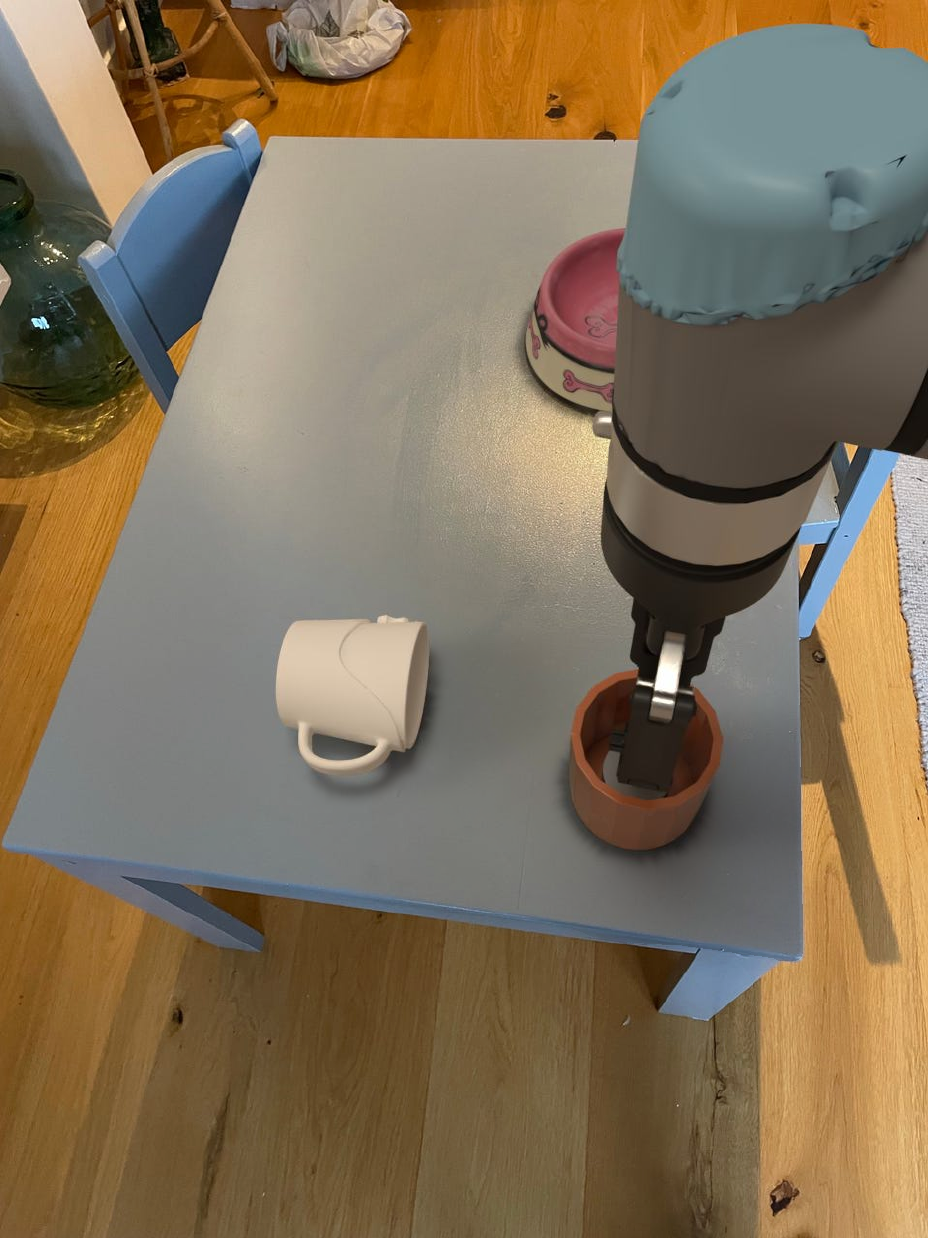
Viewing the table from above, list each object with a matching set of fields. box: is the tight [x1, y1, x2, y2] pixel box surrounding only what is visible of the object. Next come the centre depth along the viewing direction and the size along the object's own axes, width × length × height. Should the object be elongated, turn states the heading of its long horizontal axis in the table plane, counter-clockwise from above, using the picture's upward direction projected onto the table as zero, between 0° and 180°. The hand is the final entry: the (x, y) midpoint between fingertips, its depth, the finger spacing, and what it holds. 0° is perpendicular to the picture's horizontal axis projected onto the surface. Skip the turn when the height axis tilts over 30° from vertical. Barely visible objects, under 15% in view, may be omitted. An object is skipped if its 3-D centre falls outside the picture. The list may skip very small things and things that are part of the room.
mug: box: [275, 614, 430, 777], centre depth 68 cm, size 12×9×8 cm
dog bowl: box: [523, 227, 626, 415], centre depth 83 cm, size 18×19×7 cm
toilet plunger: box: [601, 751, 674, 800], centre depth 57 cm, size 5×5×21 cm
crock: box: [568, 668, 724, 851], centre depth 62 cm, size 9×9×10 cm
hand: (650, 718), depth 55 cm, fingers open, 6 cm apart
